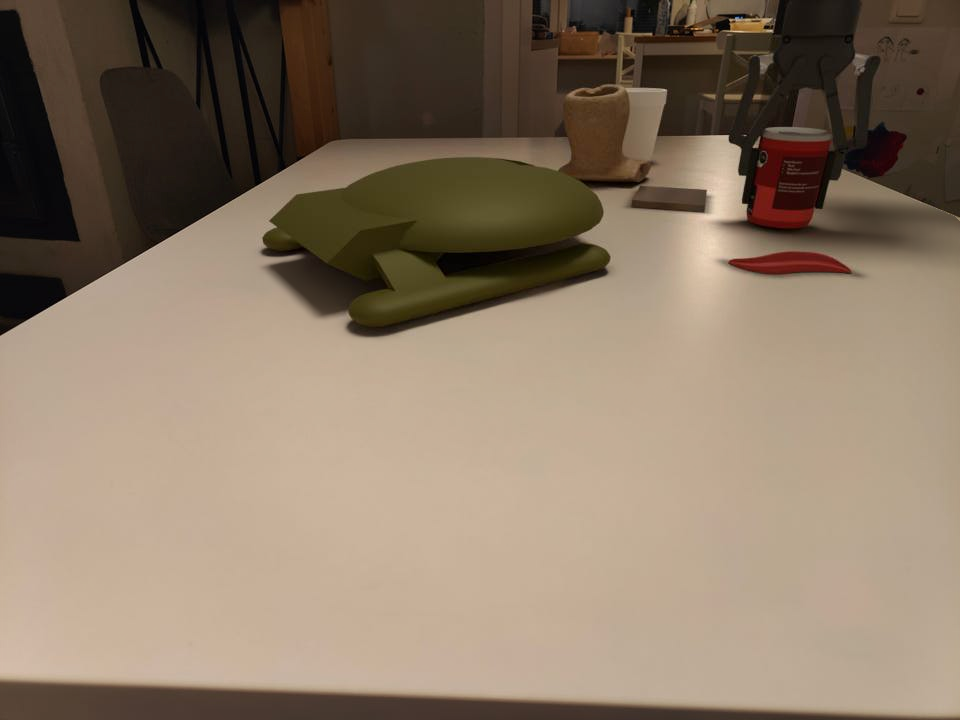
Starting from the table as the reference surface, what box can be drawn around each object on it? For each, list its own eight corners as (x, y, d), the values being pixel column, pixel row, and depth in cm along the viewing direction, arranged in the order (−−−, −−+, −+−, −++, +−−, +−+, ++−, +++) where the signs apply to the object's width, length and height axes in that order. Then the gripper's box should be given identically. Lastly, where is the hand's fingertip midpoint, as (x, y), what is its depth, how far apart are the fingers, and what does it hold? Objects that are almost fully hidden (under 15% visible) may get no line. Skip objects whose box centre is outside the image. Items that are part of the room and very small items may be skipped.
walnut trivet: (706, 196, 94) (707, 189, 94) (704, 212, 86) (705, 204, 85) (639, 192, 97) (640, 185, 97) (631, 206, 89) (632, 199, 88)
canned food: (763, 210, 84) (780, 125, 79) (822, 221, 79) (844, 131, 74) (732, 219, 80) (748, 130, 75) (792, 232, 75) (814, 137, 70)
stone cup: (549, 186, 101) (553, 87, 94) (564, 172, 111) (569, 82, 104) (643, 192, 97) (655, 88, 90) (650, 177, 107) (661, 82, 100)
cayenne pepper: (726, 268, 65) (729, 251, 64) (729, 255, 69) (732, 239, 68) (855, 283, 61) (860, 265, 60) (850, 268, 64) (855, 251, 64)
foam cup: (598, 161, 121) (604, 89, 115) (635, 157, 125) (643, 87, 119) (630, 169, 113) (638, 92, 107) (668, 164, 117) (678, 90, 111)
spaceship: (364, 340, 51) (351, 222, 46) (258, 247, 73) (242, 162, 69) (658, 260, 67) (670, 168, 63) (498, 205, 90) (498, 134, 86)
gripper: (726, -2, 68) (694, 205, 78) (944, -8, 62) (878, 217, 72) (726, 1, 74) (697, 192, 85) (924, -5, 68) (866, 202, 78)
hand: (780, 203), depth 78 cm, fingers closed on canned food, 8 cm apart
